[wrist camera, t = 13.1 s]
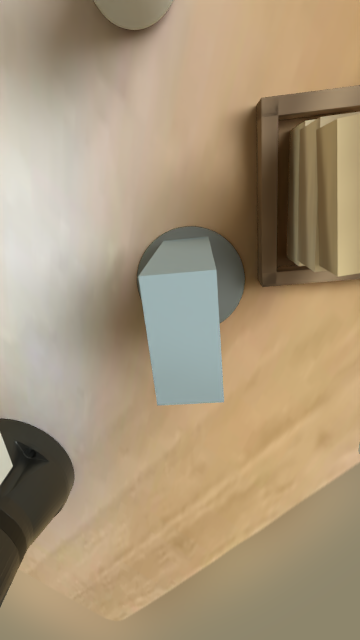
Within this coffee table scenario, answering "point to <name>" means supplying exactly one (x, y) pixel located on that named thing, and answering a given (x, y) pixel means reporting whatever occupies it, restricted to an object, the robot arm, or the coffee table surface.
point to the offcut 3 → (339, 195)
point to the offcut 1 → (294, 193)
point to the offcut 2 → (310, 193)
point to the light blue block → (183, 322)
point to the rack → (268, 176)
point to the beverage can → (133, 12)
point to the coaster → (225, 262)
